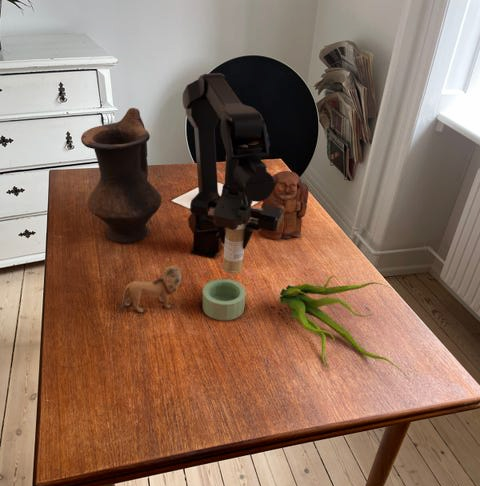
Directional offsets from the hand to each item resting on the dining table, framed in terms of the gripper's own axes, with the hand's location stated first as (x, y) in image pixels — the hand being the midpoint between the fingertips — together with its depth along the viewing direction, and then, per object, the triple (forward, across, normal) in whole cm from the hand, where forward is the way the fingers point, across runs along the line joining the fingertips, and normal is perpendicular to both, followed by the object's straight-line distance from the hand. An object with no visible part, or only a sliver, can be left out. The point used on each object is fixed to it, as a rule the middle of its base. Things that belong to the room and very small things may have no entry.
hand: (234, 245), depth 108 cm
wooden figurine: (+13, +4, +31) cm, 34 cm away
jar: (+13, 0, -6) cm, 14 cm away
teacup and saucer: (+14, -19, +43) cm, 49 cm away
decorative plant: (+13, +26, -7) cm, 30 cm away
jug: (+13, -34, +15) cm, 39 cm away
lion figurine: (+13, -15, -11) cm, 23 cm away
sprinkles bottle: (+6, 0, 0) cm, 6 cm away
